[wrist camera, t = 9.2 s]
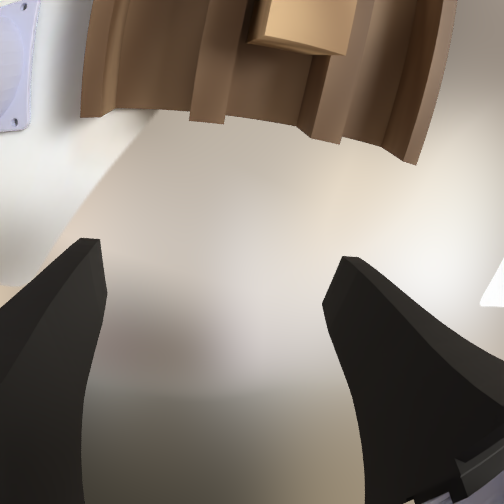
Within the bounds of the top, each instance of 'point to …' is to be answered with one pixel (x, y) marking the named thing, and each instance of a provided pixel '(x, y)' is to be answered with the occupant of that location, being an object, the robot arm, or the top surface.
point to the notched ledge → (272, 69)
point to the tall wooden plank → (303, 25)
